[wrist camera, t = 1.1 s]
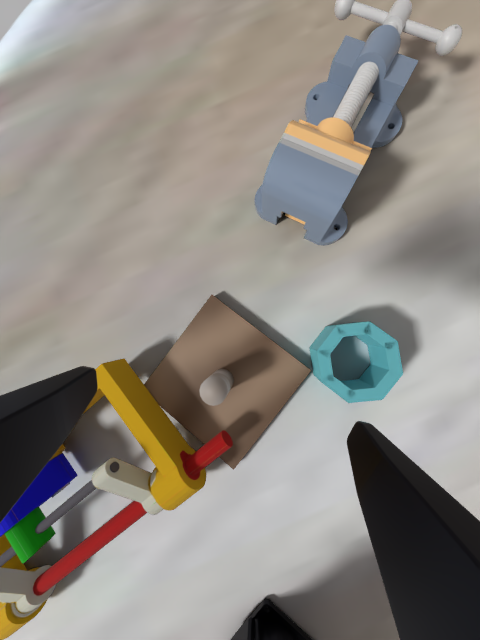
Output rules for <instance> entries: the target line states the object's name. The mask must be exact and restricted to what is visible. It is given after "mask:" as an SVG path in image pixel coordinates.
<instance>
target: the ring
mask: <svg viewBox="0 0 480 640" xmlns="http://www.w3.org/2000/svg"><path fill="white" fill-rule="evenodd" d="M347 336H356V337H357V338H359V339H360V340H361V341H363V342H364V343H366V344H367V345H368V351H369V357H370V363H371V364H370V365H369V367H368V368H367V369H366V371H365V372H364V373H363V374H362V376H361V377H360V378H359V379H355V380H345V381H339V380H338V379H337V378H335V377H334V376H333V371H332V364H331V357H330V354H331V352H332V351H333V350H334V348H335V347H336V346H337V345H338V343H339V342H340V341H341V339H342V338H343V337H347ZM310 354H311V361H312V368H313V374H314V376H316V377H317V378H318V379H319V380H320V381H321V382H322V383H323V384H325V385H326V386H327V387H328V388H330V389H331V390H332V391H334V392H335V393H336V394H338V395H339V396H340V397H341V398H343V399H344V400H345V401H347V402H348V403H353V402H363V401H374V400H382V399H383V398H384V397H385V396H386V395H387V393H388V392H389V391H390V390H391V388H392V387H393V386H394V385H395V383H396V382H397V381H398V380H399V378H400V377H401V376H402V375H403V370H402V364H401V358H400V352H399V347H398V341H397V340H395V339H394V338H392V337H391V336H390V335H388V334H387V333H385V332H384V331H383V330H381V329H380V328H378V327H377V326H376V325H374V324H373V323H371V322H369V321H368V322H355V323H347V324H339V325H331V326H326V327H325V328H324V330H323V331H322V332H321V333H320V335H319V336H318V337H317V339H316V340H315V341H314V342H313V344H312V345H311V346H310Z"/></svg>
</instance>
